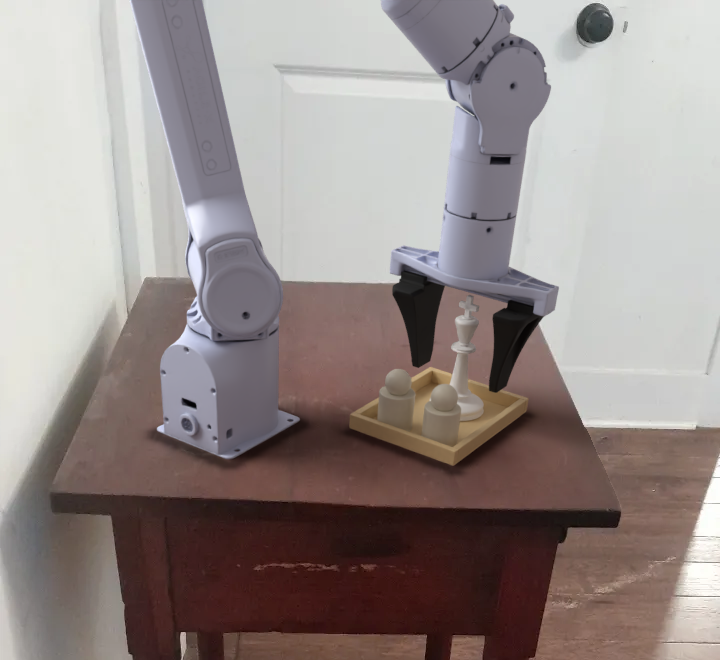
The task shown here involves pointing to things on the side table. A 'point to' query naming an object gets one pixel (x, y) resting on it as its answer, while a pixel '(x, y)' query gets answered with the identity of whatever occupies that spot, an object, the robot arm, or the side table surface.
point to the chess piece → (465, 361)
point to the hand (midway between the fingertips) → (458, 375)
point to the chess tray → (471, 433)
